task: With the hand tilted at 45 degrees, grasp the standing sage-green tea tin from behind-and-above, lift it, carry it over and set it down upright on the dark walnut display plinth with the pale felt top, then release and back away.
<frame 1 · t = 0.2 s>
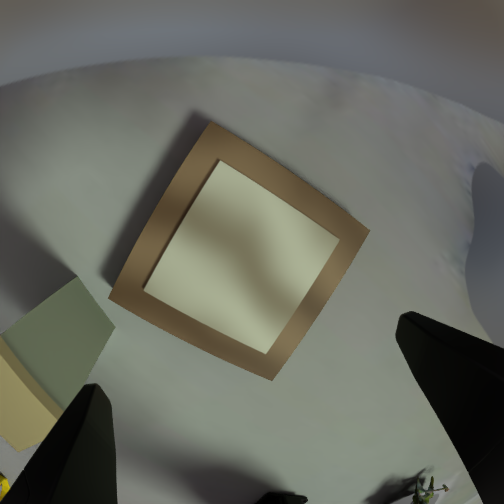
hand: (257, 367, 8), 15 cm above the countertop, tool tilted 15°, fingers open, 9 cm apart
tea tin: (75, 317, 22), on the countertop
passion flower: (401, 490, 35), on the countertop
display plinth: (239, 258, 23), on the countertop
watch: (5, 480, 23), on the countertop
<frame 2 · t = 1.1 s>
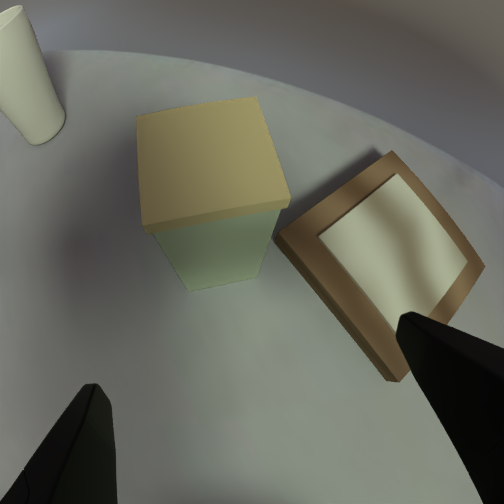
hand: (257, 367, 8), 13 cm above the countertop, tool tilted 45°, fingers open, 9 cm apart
tea tin: (215, 252, 23), on the countertop
drinking glass: (47, 129, 26), on the countertop
display plinth: (391, 259, 24), on the countertop
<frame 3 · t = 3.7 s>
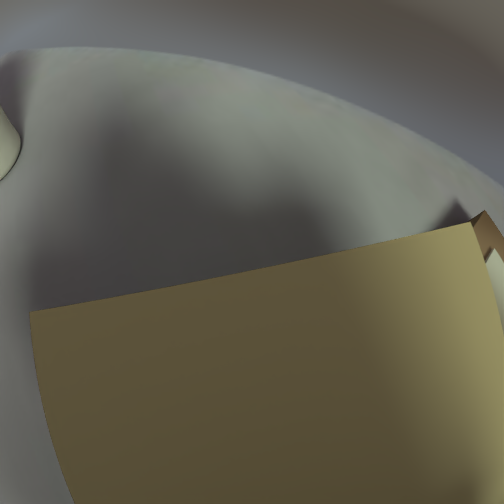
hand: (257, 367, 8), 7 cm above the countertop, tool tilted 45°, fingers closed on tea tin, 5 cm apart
tea tin: (251, 388, 14), on the countertop, touching gripper
display plinth: (475, 364, 15), on the countertop
when the fingers open (10 cm above the countertop, at t = 8.2 s): tea tin stays where it is, resting on display plinth.
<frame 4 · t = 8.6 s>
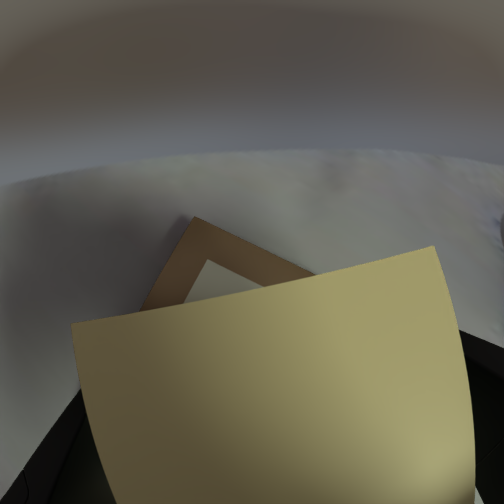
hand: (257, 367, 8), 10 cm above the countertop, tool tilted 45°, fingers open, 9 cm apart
tea tin: (250, 386, 15), point 2 cm above the countertop, touching display plinth
display plinth: (247, 381, 17), on the countertop
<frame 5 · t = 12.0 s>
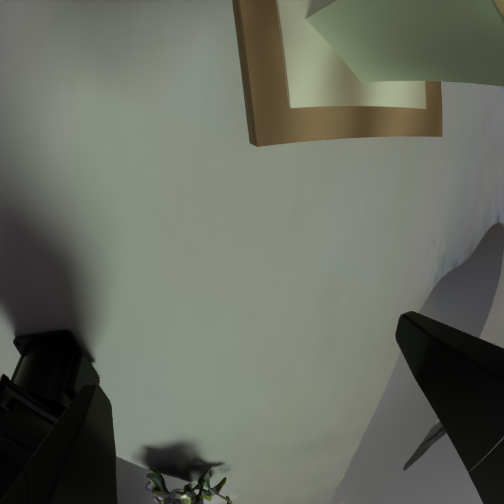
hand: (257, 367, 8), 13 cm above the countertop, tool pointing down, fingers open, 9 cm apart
tea tin: (360, 29, 14), point 2 cm above the countertop, touching display plinth
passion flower: (183, 468, 34), on the countertop
display plinth: (342, 35, 16), on the countertop
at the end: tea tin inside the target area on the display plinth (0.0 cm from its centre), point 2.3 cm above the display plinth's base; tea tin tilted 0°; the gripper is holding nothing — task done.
